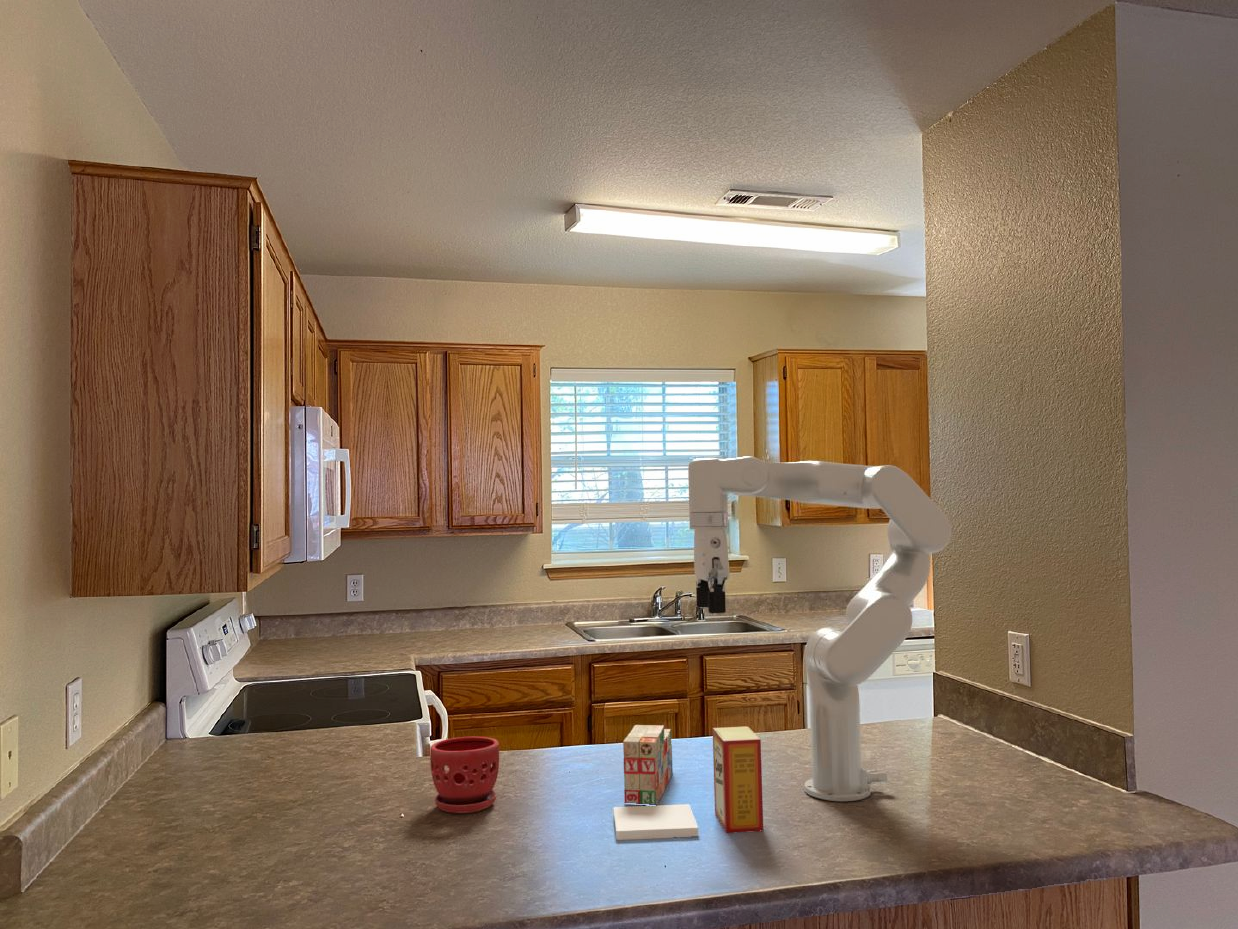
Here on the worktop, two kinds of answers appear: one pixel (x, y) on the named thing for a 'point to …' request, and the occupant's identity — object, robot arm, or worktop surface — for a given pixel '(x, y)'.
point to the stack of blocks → (647, 763)
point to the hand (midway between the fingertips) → (710, 610)
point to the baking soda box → (738, 779)
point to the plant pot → (465, 773)
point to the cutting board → (654, 822)
